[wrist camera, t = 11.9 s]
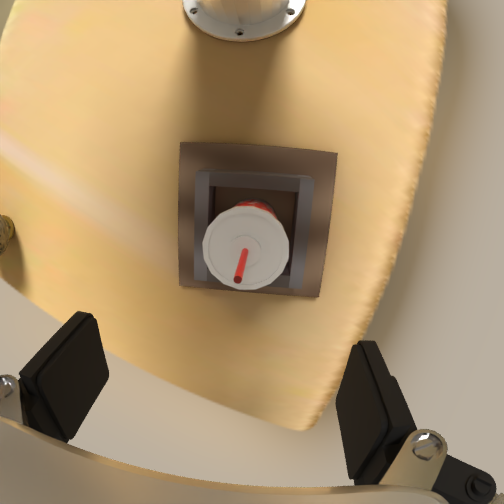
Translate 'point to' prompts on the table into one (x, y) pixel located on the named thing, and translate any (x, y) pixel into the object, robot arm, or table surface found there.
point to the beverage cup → (246, 245)
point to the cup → (5, 232)
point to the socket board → (262, 187)
